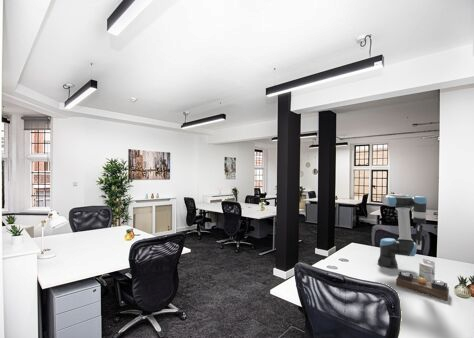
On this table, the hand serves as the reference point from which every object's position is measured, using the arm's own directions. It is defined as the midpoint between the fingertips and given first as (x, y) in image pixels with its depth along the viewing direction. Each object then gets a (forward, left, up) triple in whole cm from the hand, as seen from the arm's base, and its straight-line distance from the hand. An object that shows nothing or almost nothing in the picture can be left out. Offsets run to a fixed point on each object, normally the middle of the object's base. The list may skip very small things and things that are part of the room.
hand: (418, 249), depth 179 cm
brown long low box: (+9, +3, -26) cm, 28 cm away
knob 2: (+9, +12, -21) cm, 26 cm away
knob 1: (+9, -7, -21) cm, 24 cm away
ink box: (-16, +3, -26) cm, 31 cm away
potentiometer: (+9, +3, -21) cm, 23 cm away
